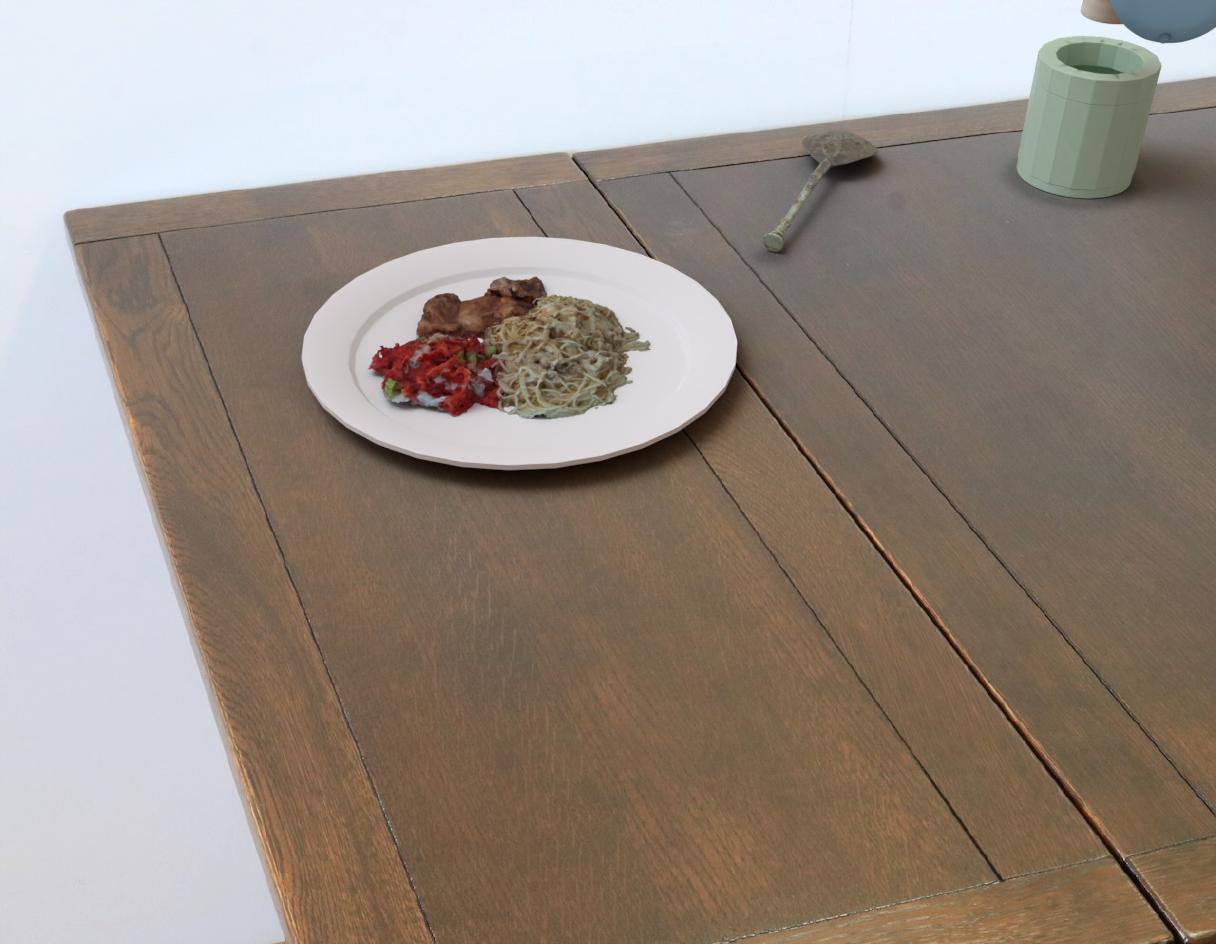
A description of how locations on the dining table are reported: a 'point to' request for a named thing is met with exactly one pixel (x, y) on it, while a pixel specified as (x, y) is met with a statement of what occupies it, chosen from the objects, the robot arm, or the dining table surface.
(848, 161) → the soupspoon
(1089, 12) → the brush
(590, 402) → the plated food
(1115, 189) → the jar
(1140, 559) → the dining table surface
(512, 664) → the dining table surface
